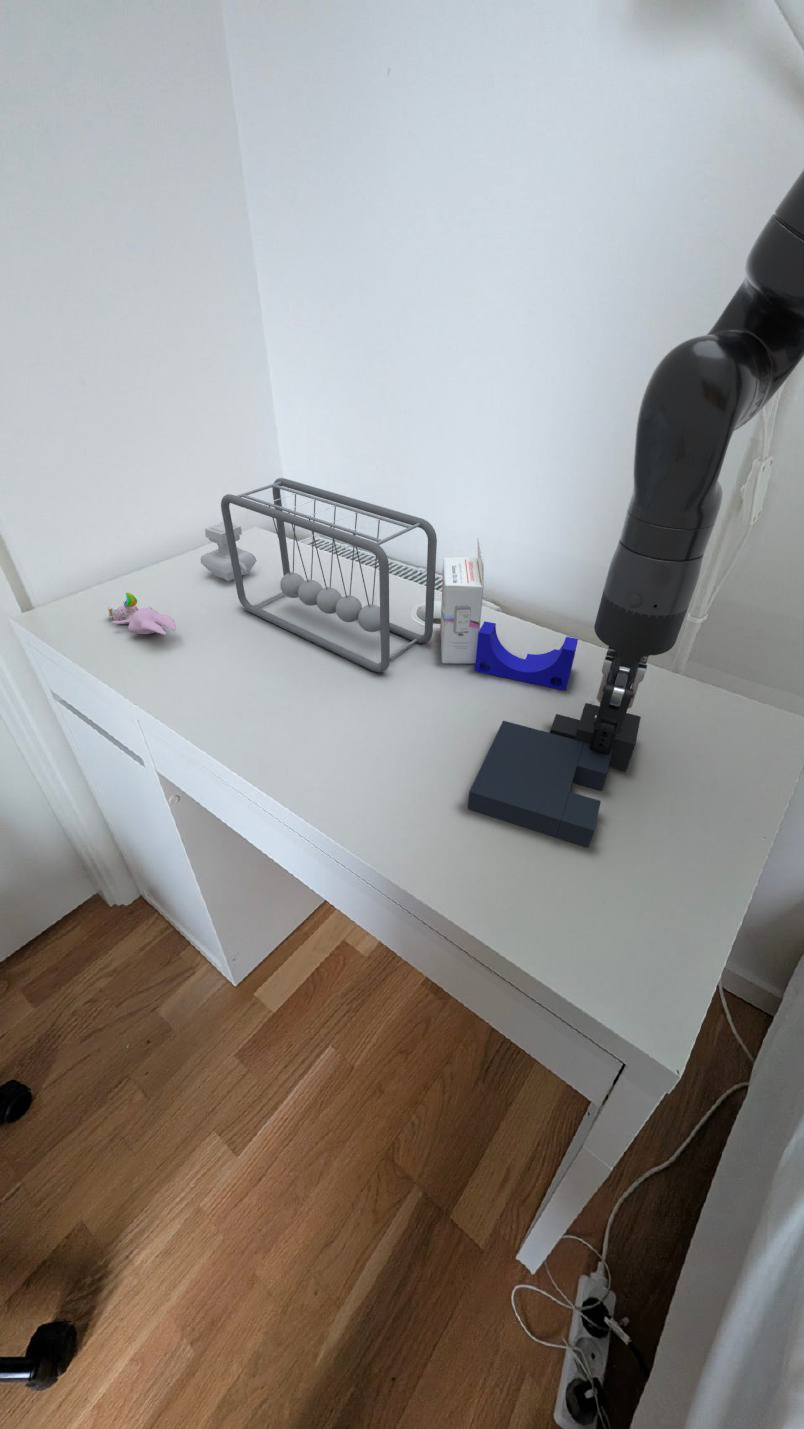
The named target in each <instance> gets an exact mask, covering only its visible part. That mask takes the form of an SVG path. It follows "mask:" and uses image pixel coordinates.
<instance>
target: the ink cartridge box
mask: <svg viewBox="0 0 804 1429" xmlns="http://www.w3.org/2000/svg"><path fill="white" fill-rule="evenodd" d="M484 564H485V563H484V557H483V551H482V545H481V540H480V537H479V536H478V537H477V557H443V558H442V580H441V582H442V583H441V605H440V607H441V608H440V621H439V622H440V623H439V624H440V625H439V626H440V627H439V634H440V635H439V636H440V652H441V654H440V655H441V664H442V665H443V664H475V663H476V653H477V643H478V633H479V631H480V629H481V619H482V610H483V598H484V581H485V580H484V577H485V576H484V574H485V572H484V570H485V569H484V568H485V567H484V566H485V565H484Z"/></svg>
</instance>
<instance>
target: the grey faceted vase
mask: <svg viewBox="0 0 804 1429" xmlns="http://www.w3.org/2000/svg"><path fill="white" fill-rule="evenodd" d="M232 525H233V530H234V536H235V542H238V541H240V539H241V537H240V536H241V535H243V533H242V526H241V525H239V524H235V523H233V522H232ZM204 534H205V535H204V536H205V538H208V541H209V542H212V543H214V544H216V545H217V547H218V548H217V549H215V550H211V551H210V552H207V553H205V554H202V555H201V556H200V564H201V565H202V566H203V567H204V568H206V569H207V571H209V572H210V573H211V574H212V575H214V576H216V577H218V578H220V579H223V580H225V581H227V582H231V581H233V580H235V579H234V574H233V568H232V563H231V558H230V553H229V547H228V542H227V537H226V532H225V526H224V521H221V522H220V523H217V524H214V525H211V526H209V527H206V528H204ZM237 553H238V558H239V564H240V569H241V575H242V576H245V575H247V574H249V573H250V572H251V570H252V569H253V567H254V566H255V564H256V562H257V561H258V560H257V557H256V556H255V554H253V553H252V552H249V551H247V550H244V549H242V548H239V547H237Z"/></svg>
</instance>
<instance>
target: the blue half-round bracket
mask: <svg viewBox="0 0 804 1429" xmlns="http://www.w3.org/2000/svg"><path fill="white" fill-rule="evenodd" d="M496 625H497V623H495V622H491V621H486V620H485V621H483V623H482V624H481V626H480V630H479V633H478V643H477V653H476V663H474V664H475V665H474V672H476V673H479V674H480V673H482V674H484V675H490V676H494V677H499V678H503V679H508V680H513V681H518V682H522V683H527V684H531V685H536V686H541V687H545V688H550V689H555V690H559V691H564V692H566V691H567V687H568V684H569V680H570V676H571V674H572V669H573V665H574V661H575V655H576V650H577V646H578V641H579V638H575V637H570V636H565V639H564V641H563V643H562V645H561V646H560V648H559V649H556V648H555V649H552V650H550V651H547V652H544V653H539V654H538V653H537V654H535V653H527V654H526V657H525V659H524V658H521V657H518V656H516V655H514V654H513V653H512V652H510V651H509V650H508V649H506V648H505V647H504V646H503V644H502V643H501V641H500V640H499V637H498V634H497V628H496V627H497V626H496Z"/></svg>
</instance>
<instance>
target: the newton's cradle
mask: <svg viewBox="0 0 804 1429" xmlns="http://www.w3.org/2000/svg"><path fill="white" fill-rule="evenodd" d="M270 488H271V489H272V498H273V500H271V501H265V500H263V499H259V498H256V497H253V496H250V495H253V494H255V493H259V492H262V491H266V490H269V489H270ZM281 490H282V491H285V492H288V493H292V494H289V495H286V496H283V497H281V496H282V494H281ZM293 495H294V506H292V507H290V508H287V507H284V506H283V504H282V499H285V498H288V497H291V496H293ZM297 495H299V496H301V497H304V498H308V499H311V500H308V501H306V502H304V503H300V504H297ZM220 501H221V502H220V511H221V516H222V522H224V526H225V532H226V537H227V542H228V547H229V553H230V558H231V563H232V568H233V574H234V579H233V580H234V584H235V590H236V594H237V597H238V601H239V603H240V604H241V606H242V607H243V608H244V610H246V611H247V612H249V613H251V614H253V615H255V616H257V617H258V618H259V617H260V618H261V619H263V620H266V621H268V622H270V623H272V624H274V625H276V626H278V627H280V628H282V629H285V630H286V631H288V632H291V633H293V634H295V635H296V636H299V637H300V638H301V637H302V638H303V639H305V640H307V641H310V642H311V643H313V644H316V645H318V646H320V647H322V648H324V649H326V650H328V651H330V652H333V653H335V654H337V655H339V656H341V657H343V658H345V659H347V660H350V661H351V662H354V663H355V664H358V665H360V666H362V667H364V668H365V669H368V670H370V671H371V672H375V673H384V672H385V671H387V670H388V668H389V666H390V663H391V662H390V661H391V659H392V658H394V657H395V656H397V655H399V654H400V653H401V652H403V651H405V650H406V649H407V648H409V647H411V646H412V645H414V644H415V643H418V644H426V643H428V642H429V641H430V640H431V639H432V637H433V632H434V613H435V612H434V611H435V590H436V572H437V571H436V568H437V546H438V539H437V532H436V530H435V528H434V526H433V525H432V524H431V522H429V521H428V520H426V519H424V518H422V517H418V516H416V515H415V516H414V515H411V514H407V513H405V512H401V511H397V510H394V509H391V508H387V507H384V506H380V505H376V504H373V503H370V502H367V501H364V500H360V499H356V498H353V497H350V496H346V495H343V494H339V493H336V492H333V491H329V490H325V489H322V488H319V487H317V486H316V487H315V486H312V485H309V484H305V483H301V482H298V481H294V480H292V479H288V478H285V477H279V478H277V479H275V480H274V482H273V483H271V484H268V485H265V486H262V487H259V488H256V489H252V490H249V491H246V492H243V493H240V494H237V495H234V494H231V493H230V494H229V493H227V494H225V495H223V496H222V498H221V500H220ZM316 501H318V502H321V503H325V504H327V505H331V506H329V507H328V508H325V509H322V510H320V511H317V512H316ZM311 502H314V503H313V513H312V514H309V515H308V514H305V513H301V512H299V511H297V510H296V508H297V507H299V506H302V505H305V504H309V503H311ZM230 504H232V505H235V506H238V507H241V508H244V509H247V510H250V511H252V512H255V513H258V514H261V515H264V516H267V517H270V518H271V519H272V522H273V525H274V529H275V531H276V535H277V538H278V544H279V545H278V546H279V552H280V559H281V566H282V574H283V576H282V577H281V579H280V583H279V584H280V585H279V587H280V590H281V592H279V593H277V594H275V595H272V596H271V597H269V598H267V599H264V600H262V601H261V602H258V603H256V604H254V605H253V604H251V603H250V602H249V600H248V598H247V596H246V592H245V586H244V581H243V575H241V569H240V564H239V558H238V553H237V548H238V547H237V543H236V542H237V541H236V542H235V536H234V530H233V525H232V523H233V521H232V514H231V510H230ZM337 507H338V508H341V509H344V510H347V511H351V512H353V513H351V514H348V515H346V516H344V517H341V518H339V519H336V511H337ZM332 508H334V509H333V510H334V512H333V521H331V522H329V521H326V520H323V519H320V518H316V514H320V513H322V512H325V511H327V510H329V509H332ZM292 509H294V510H292ZM358 514H360V515H363V516H367V517H370V518H373V519H376V520H373V521H371V522H368V523H367V524H364V525H361V526H359V527H357V522H358V521H357V520H358ZM352 515H355V521H354V522H355V523H354V529H351V528H347V527H344V526H342V525H339V524H336V522H338V521H340V520H342V519H346V518H347V517H350V516H352ZM377 521H378V522H377ZM380 521H383V522H387V523H390V524H391V525H392V524H393V525H396V526H399V527H402V528H403V529H402V530H400V531H398V532H396V533H394V534H392V535H389V536H387V537H385V538H382V539H381V538H379V536H380V524H381V523H380ZM375 522H377V534H376V535H377V536H376V537H375V536H373V535H368V534H367V533H362V532H359V531H358V530H359V529H361V528H364V527H366V526H369V525H371V524H372V523H375ZM285 523H287V524H290V525H291V527H292V528H291V529H292V531H293V547H292V548H293V549H292V555H293V556H292V571H291V568H290V560H289V553H288V543H287V537H286V535H287V534H286V528H285ZM296 527H299V528H302V529H304V530H307V531H310V532H311V535H312V542H311V564H310V578H309V579H308V576H307V572H306V568H305V564H304V561H303V557H302V553H301V550H300V545H299V543H298V539H297V538H298V537H297V535H296ZM417 528H419V529H421V530H423V531H424V532H425V535H426V537H427V555H426V582H425V583H426V585H425V588H426V589H425V607H424V608H425V611H424V632H423V634H419V633H416V632H414V631H412V630H409V629H406V628H404V627H402V626H399V625H397V624H396V623H392V622H390V563H389V558H388V555H387V553H386V551H385V549H384V548H383V547H382V546H381V545H383V544H385V543H387V542H389V541H391V540H394V539H395V538H397V537H399V536H400V537H401V536H402V535H403V534H406V533H408V532H410V531H412V530H414V529H417ZM315 533H316V534H319V535H322V536H324V537H326V538H327V537H328V538H330V539H332V542H331V544H332V545H331V557H330V558H331V559H330V576H329V586H327V583H326V578H325V575H324V571H323V566H322V563H321V562H322V561H321V558H320V555H319V549H318V546H317V543H316V542H317V541H316V538H315ZM336 541H340V542H342V543H344V544H347V545H351V546H353V548H352V559H351V569H350V570H351V571H350V583H349V594H347V591H346V586H345V582H344V578H343V572H342V568H341V563H340V559H339V555H338V550H337V546H336ZM295 542H296V546H297V550H298V553H299V557H300V560H301V564H302V567H303V572H304V575H305V578H306V580H305V579H304V577H303V576H302V575H301V574H299V573H296V572H295ZM314 547H315V550H316V553H317V558H318V562H319V566H320V571H321V575H322V578H323V583H324V586H325V588H323V586H322V585H321V584H320V583H319V581H316V580H314V579H313V564H314V560H313V559H314ZM358 548H359V549H362V550H365V551H368V552H371V553H372V554H374V556H375V562H374V572H373V587H372V599H371V603H370V601H369V597H368V591H367V588H366V587H367V586H366V582H365V578H364V573H363V568H362V562H361V559H360V555H359V549H358ZM334 550H335V554H336V559H337V563H338V568H339V572H340V578H341V582H342V586H343V590H344V596H342V594H341V593H340V591H339V590H337V589H336V588H334V587H332V572H333V561H334V560H333V559H334ZM355 550H356V555H357V560H358V564H359V569H360V573H361V579H362V583H363V587H364V592H365V596H366V602H367V604H366V605H364V606H363V605H362V603H361V601H360V599H359V598H357V597H356V596H354V595H351V593H352V583H353V582H352V581H353V570H354V560H355V557H354V556H355ZM377 561H378V572H379V573H378V574H379V582H378V583H379V605H376V604H374V601H375V586H376V573H377ZM283 595H285V597H288V598H290V599H297V598H298V599H299V600H300V602H301V603H302V604H304V605H306V606H310V607H313V606H316V605H317V608H318V609H319V611H321V612H322V613H324V614H326V615H328V614H329V615H332V614H335V613H336V616H337V617H338V618H339V619H340V620H341V621H343V622H344V623H354V622H356V621H358V622H357V623H358V624H359V626H360V628H361V629H362V630H364V631H366V632H369V633H375V632H378V631H380V662H379V663H378V662H375V661H373V660H371V659H369V658H366V657H364V656H362V655H360V654H358V653H356V652H353V651H352V650H349V649H347V648H345V647H343V646H341V645H339V644H336V643H335V642H332V641H330V640H328V639H325V638H324V637H321V636H320V635H317V634H315V633H313V632H311V631H309V630H306V629H304V628H303V627H300V626H298V625H296V624H293V623H292V622H290V621H288V620H286V619H283V618H282V617H279V616H276V615H274V614H272V613H270V612H268V611H265V610H264V609H262V608H259V607H260V606H262V605H264V604H266V603H268V602H270V601H273V600H274V599H277V598H279V597H281V596H283ZM390 632H392V633H394V634H396V635H398V636H401V637H403V638H406V639H408V640H410V642H408V643H407V644H406V645H404V646H402V647H400V648H399V649H398V650H396V651H394V652H393V653H391V652H390V651H391V647H390V646H391V644H390V643H391V642H390V641H391V640H390Z"/></svg>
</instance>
